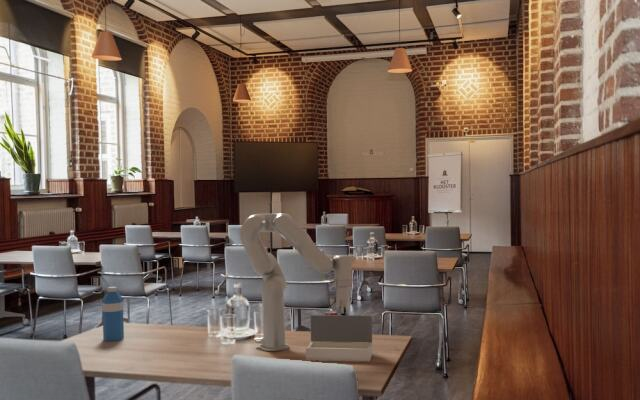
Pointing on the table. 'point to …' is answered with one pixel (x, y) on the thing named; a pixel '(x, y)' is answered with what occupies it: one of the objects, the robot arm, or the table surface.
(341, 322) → the lid
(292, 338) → the table surface
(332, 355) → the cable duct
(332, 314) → the soda can
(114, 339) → the water bottle
